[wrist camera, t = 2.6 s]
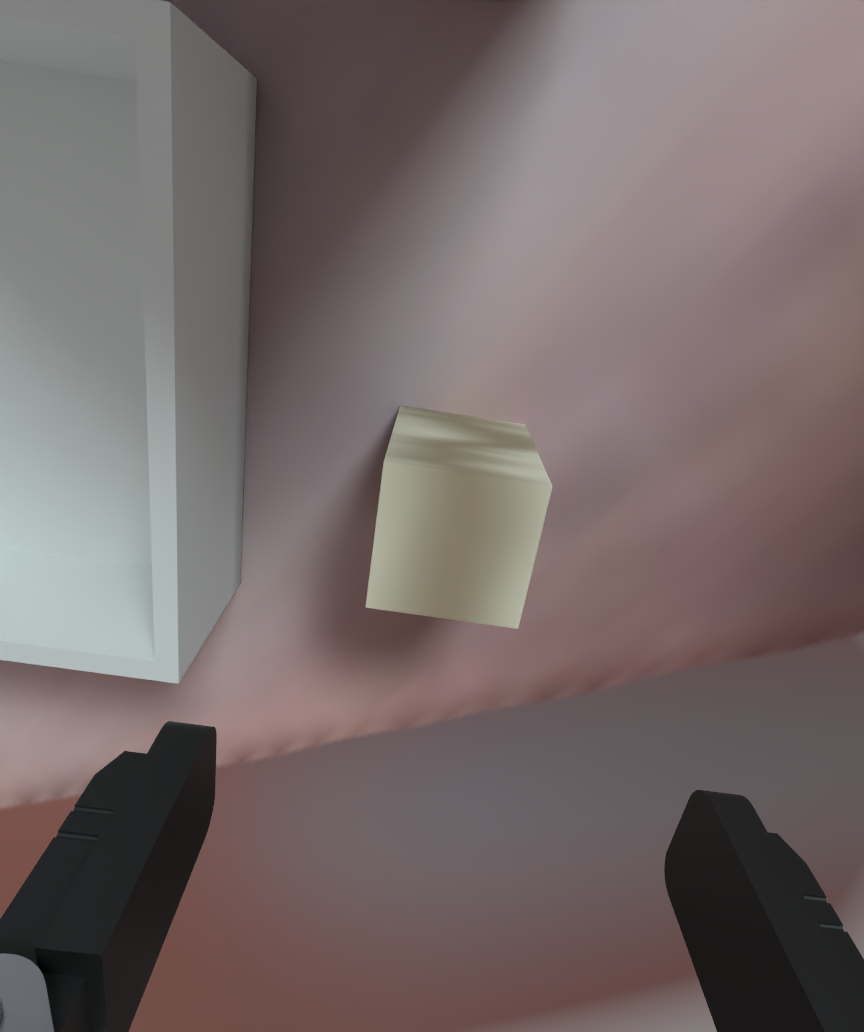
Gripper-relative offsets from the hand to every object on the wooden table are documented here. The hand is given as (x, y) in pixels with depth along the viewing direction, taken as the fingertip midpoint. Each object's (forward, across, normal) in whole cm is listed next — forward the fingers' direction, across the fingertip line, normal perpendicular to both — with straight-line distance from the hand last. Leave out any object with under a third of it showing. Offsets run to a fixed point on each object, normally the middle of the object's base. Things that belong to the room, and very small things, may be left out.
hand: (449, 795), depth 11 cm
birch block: (+17, 0, 0) cm, 17 cm away
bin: (+17, +16, -3) cm, 23 cm away
